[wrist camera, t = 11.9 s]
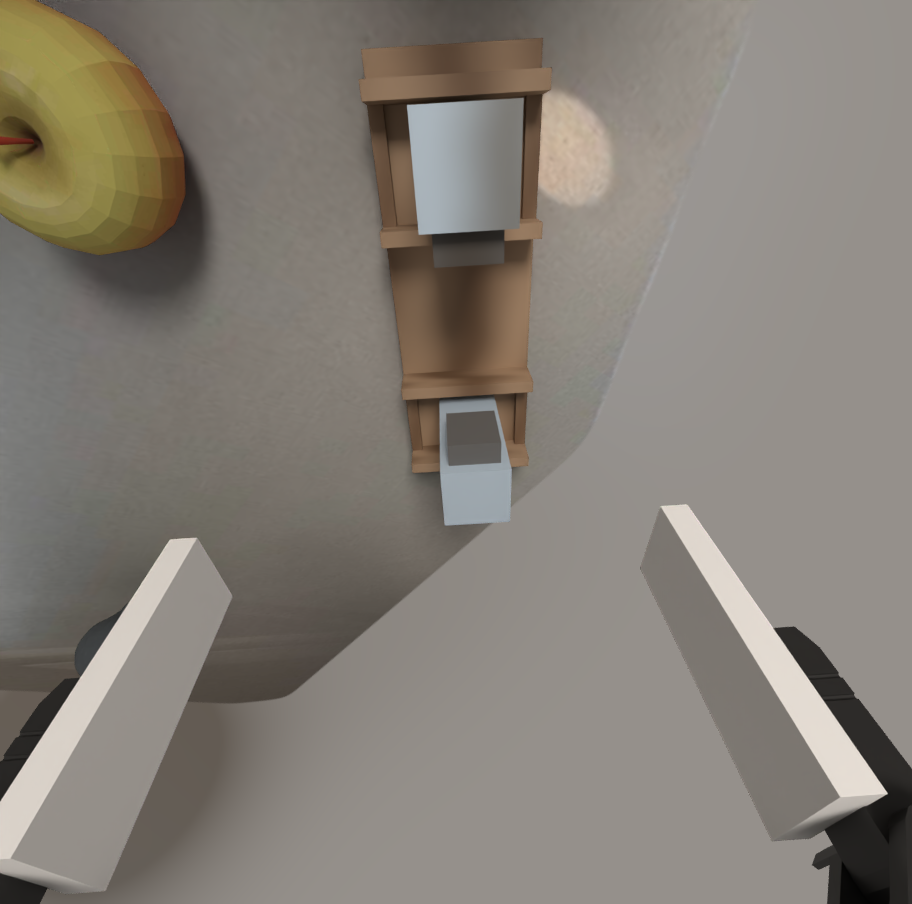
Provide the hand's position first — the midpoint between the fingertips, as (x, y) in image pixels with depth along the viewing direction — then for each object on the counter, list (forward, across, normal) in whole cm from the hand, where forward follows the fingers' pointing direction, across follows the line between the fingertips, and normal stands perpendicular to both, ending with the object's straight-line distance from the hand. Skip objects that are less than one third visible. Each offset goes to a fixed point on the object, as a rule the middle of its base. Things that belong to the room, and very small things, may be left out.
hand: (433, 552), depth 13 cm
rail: (+22, +2, 0) cm, 22 cm away
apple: (+22, -17, +10) cm, 30 cm away
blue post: (+20, +2, -8) cm, 21 cm away
